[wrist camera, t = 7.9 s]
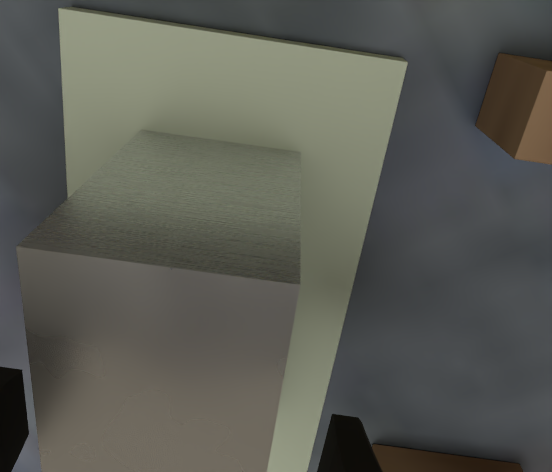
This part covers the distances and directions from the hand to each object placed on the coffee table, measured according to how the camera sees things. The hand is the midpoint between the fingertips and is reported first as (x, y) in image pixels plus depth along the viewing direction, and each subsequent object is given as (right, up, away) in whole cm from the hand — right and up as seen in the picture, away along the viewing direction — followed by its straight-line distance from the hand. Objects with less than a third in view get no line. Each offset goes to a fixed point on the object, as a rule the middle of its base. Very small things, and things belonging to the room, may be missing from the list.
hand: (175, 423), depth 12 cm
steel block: (0, +3, +5) cm, 5 cm away
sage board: (0, +3, +5) cm, 6 cm away
